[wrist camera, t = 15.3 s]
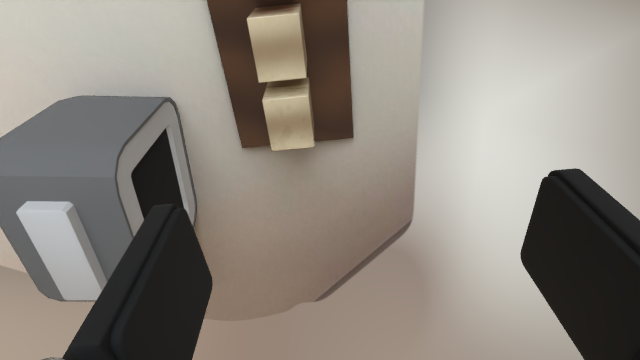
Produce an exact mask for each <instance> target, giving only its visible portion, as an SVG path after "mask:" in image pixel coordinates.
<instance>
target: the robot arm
mask: <svg viewBox="0 0 640 360" xmlns="http://www.w3.org/2000/svg"><path fill="white" fill-rule="evenodd" d="M521 260H522V263H523V265H524V267H525V269H526V270H527V272H528V273H529V275H530V276H531V278H532V279H533V281H534V282H535V284H536V286H537V287H538V288H539V290H540V292H541V293H542V295H543V296H544V298H545V299H546V301H547V302H548V304H549V306H550V307H551V309H552V310H553V312H554V313H555V315H556V316H557V318H558V320H559V321H560V323H561V324H562V326H563V327H564V329H565V330H566V332H567V333H568V335H569V337H570V338H571V340H572V341H573V343H574V344H575V346H576V347H577V349H578V350H579V352H580V353H581V355H582V356H583V358H584V360H640V220H639V219H637V218H636V217H635V216H634V215H633V214H632V213H630V212H629V211H628V210H627V209H626V208H625V207H623V206H622V205H621V204H620V203H619V202H618V201H616V200H615V199H614V198H613V197H612V196H610V194H608V193H607V192H606V191H605V190H604V189H603V188H601V187H600V186H599V185H598V184H597V183H596V182H594V181H593V180H592V179H591V178H590V177H589V176H587V175H586V174H585V173H584V172H583V171H581V170H580V169H566V170H555V171H551V172H550V173H549V175H548V177H544V178H543V179H542V182H541V185H540V188H539V192H538V195H537V198H536V202H535V205H534V209H533V212H532V215H531V219H530V223H529V226H528V229H527V232H526V236H525V239H524V243H523V246H522V249H521ZM211 291H212V277H211V274H210V271H209V268H208V266H207V263H206V260H205V258H204V255H203V252H202V250H201V247H200V245H199V242H198V239H197V237H196V234H195V231H194V229H193V226H192V223H191V221H190V218H189V215H188V213H187V211H186V209H184V208H181V209H180V207H179V205H178V204H164V205H155V206H153V207H152V208H151V209H150V211H149V213H148V214H147V216H146V218H145V219H144V221H143V223H142V225H141V226H140V228H139V230H138V231H137V233H136V235H135V236H134V238H133V240H132V241H131V243H130V245H129V246H128V248H127V250H126V251H125V253H124V255H123V256H122V258H121V260H120V262H119V263H118V265H117V267H116V268H115V270H114V272H113V273H112V275H111V277H110V278H109V280H108V282H107V283H106V285H105V287H104V288H103V290H102V292H101V293H100V295H99V297H98V299H97V300H96V302H95V304H94V305H93V307H92V309H91V311H90V312H89V314H88V315H87V317H86V319H85V321H84V322H83V324H82V326H81V327H80V329H79V331H78V332H77V334H76V336H75V337H74V339H73V341H72V342H71V344H70V346H69V348H68V350H67V351H66V353H65V354H64V356H63V358H46V359H43V360H192V358H193V353H194V350H195V347H196V343H197V340H198V336H199V333H200V329H201V326H202V322H203V319H204V315H205V312H206V308H207V305H208V301H209V298H210V294H211Z"/></svg>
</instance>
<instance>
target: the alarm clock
mask: <svg viewBox="0 0 640 360" xmlns="http://www.w3.org/2000/svg"><path fill="white" fill-rule="evenodd" d="M164 204H178V205H179V207H180V209H181V208H184V209H186V211H187V213H188V215H189V218H190V221H191V223H192V226H193V229H194V226H195V222H196V212H197V206H196V196H195V191H194V186H193V181H192V176H191V171H190V166H189V161H188V156H187V151H186V146H185V141H184V136H183V131H182V126H181V121H180V116H179V113H178V110H177V107H176V104H175V102H174V101H173V100H172V99H171V98H170V97H121V96H77V97H72V98H68V99H64V100H60V101H57V102H56V103H54V104H53V105H51V106H49V107H48V108H46V109H45V110H43V111H42V112H40V113H38V114H37V115H35V116H34V117H32V118H31V119H29V120H27V121H26V122H24V123H23V124H21V125H20V126H18V127H17V128H15V129H13V130H12V131H10V132H9V133H7V134H6V135H4V136H2V137H1V138H0V227H1V229H2V230H3V232H4V234H5V235H6V237H7V239H8V240H9V242H10V244H11V245H12V247H13V249H14V250H15V252H16V254H17V255H18V257H19V258H20V260H21V262H22V263H23V265H24V267H25V268H26V270H27V272H28V273H29V275H30V277H31V278H32V280H33V281H34V283H35V285H36V287H37V288H38V290H39V291H40V292H41V293H42V294H44V295H45V296H46V297H48V298H51V299H54V300H58V301H96V300H97V299H98V297H99V295H100V293H101V292H102V290H103V288H104V287H105V285H106V283H107V282H108V280H109V278H110V277H111V275H112V273H113V272H114V270H115V268H116V267H117V265H118V263H119V262H120V260H121V258H122V256H123V255H124V253H125V251H126V250H127V248H128V246H129V245H130V243H131V241H132V240H133V238H134V236H135V235H136V233H137V231H138V230H139V228H140V226H141V225H142V223H143V221H144V219H145V218H146V216H147V214H148V213H149V211H150V209H151V208H152V207H153V206H155V205H164Z"/></svg>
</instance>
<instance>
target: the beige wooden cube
mask: <svg viewBox="0 0 640 360" xmlns="http://www.w3.org/2000/svg"><path fill="white" fill-rule="evenodd" d="M262 102H263V107H264V113H265V118H266V123H267V128H268V134H269V139H270V144H271V149H272V151H277V150H288V149H299V148H309V147H314V119H313V110H312V101H311V92H310V83H309V77H306V78H302V79H292V80H281V81H271V82H268V83H267V86H266V90H265V93H264V96H263V99H262Z"/></svg>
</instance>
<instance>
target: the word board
mask: <svg viewBox="0 0 640 360" xmlns="http://www.w3.org/2000/svg"><path fill="white" fill-rule="evenodd" d="M207 3H208V7H209V11H210V15H211V19H212V23H213V28H214V32H215V36H216V40H217V44H218V48H219V53H220V57H221V61H222V65H223V69H224V73H225V78H226V82H227V86H228V90H229V94H230V98H231V103H232V107H233V111H234V115H235V119H236V123H237V128H238V132H239V136H240V140H241V144H242V148H247V147H258V146H269V145H271V144H270V139H269V134H268V128H267V123H266V118H265V113H264V107H263V102H262V99H263V96H264V93H265V90H266V86H267V83H268V82H261V83H259V81H258V76H257V70H256V65H255V60H254V55H253V49H252V44H251V39H250V34H249V28H248V23H247V18H248V17H249V15H250V14H251V13H252V12H253V10H254V9H255V8H260V7H269V6H279V5H288V4H298V3H300V4H301V11H302V20H303V29H304V38H305V47H306V56H307V76H306V77H309V83H310V92H311V101H312V110H313V119H314V141H323V140H334V139H345V138H353V120H352V99H351V78H350V57H349V36H348V15H347V0H207Z"/></svg>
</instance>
